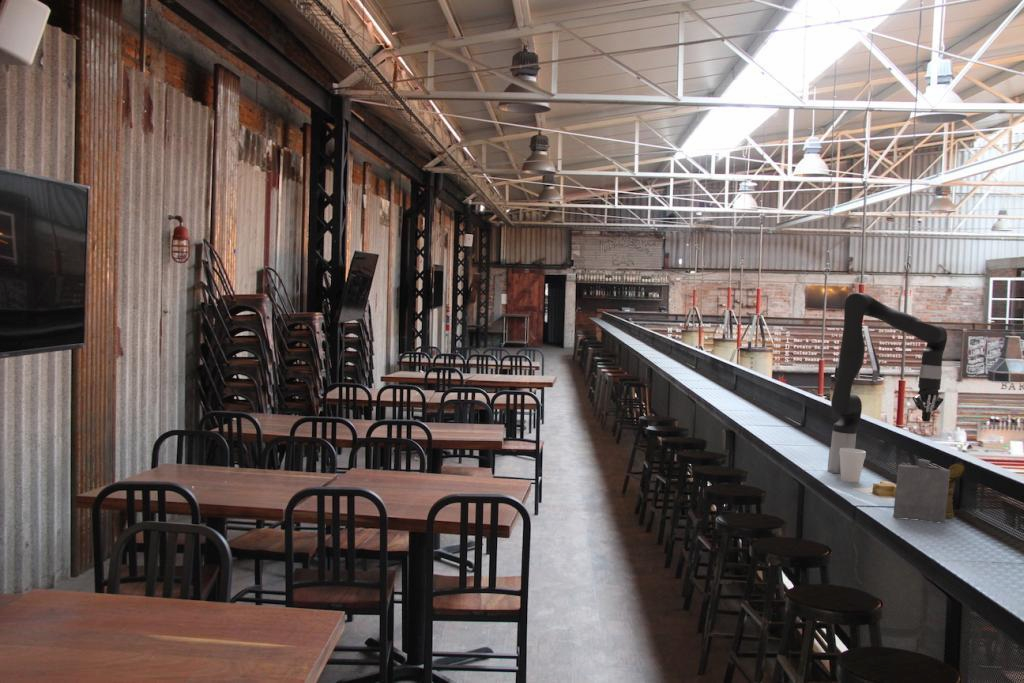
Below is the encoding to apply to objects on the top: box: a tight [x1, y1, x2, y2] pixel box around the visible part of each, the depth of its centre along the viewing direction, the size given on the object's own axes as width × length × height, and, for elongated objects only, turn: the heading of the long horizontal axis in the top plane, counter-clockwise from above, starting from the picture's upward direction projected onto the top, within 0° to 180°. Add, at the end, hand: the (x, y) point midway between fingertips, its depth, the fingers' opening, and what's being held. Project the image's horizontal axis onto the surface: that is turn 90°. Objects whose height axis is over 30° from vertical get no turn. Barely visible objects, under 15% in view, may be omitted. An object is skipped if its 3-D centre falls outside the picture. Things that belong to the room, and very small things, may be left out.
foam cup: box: [839, 448, 867, 483], centre depth 313 cm, size 10×9×13 cm
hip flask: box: [892, 458, 950, 524], centre depth 263 cm, size 16×4×20 cm, turn 80°
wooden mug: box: [945, 462, 966, 519], centre depth 272 cm, size 9×14×18 cm, turn 114°
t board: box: [851, 487, 895, 502], centre depth 293 cm, size 18×18×1 cm
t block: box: [872, 480, 896, 496], centre depth 293 cm, size 10×9×4 cm
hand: (925, 421), depth 308 cm, fingers closed
